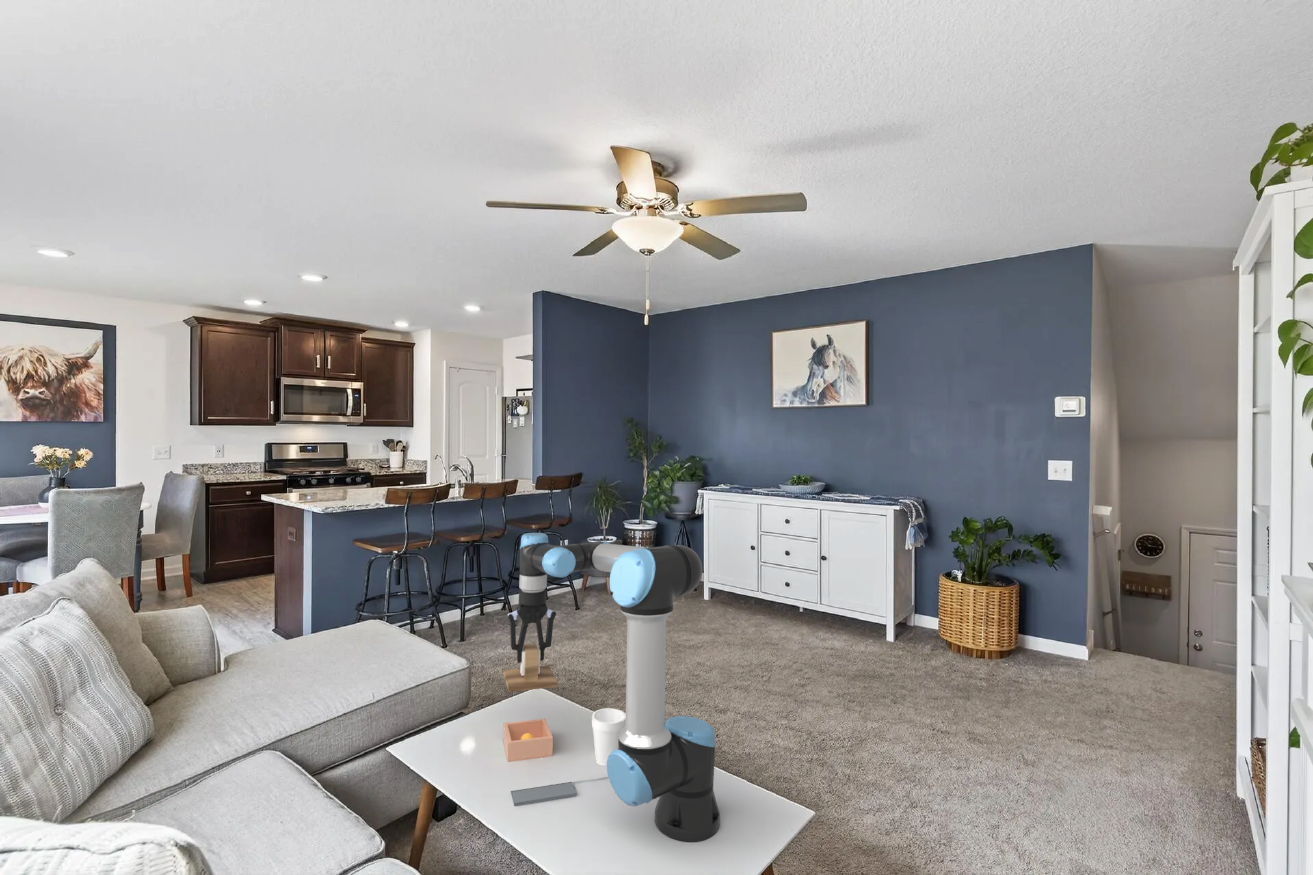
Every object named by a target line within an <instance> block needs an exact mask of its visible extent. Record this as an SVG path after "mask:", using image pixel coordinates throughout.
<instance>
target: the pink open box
mask: <svg viewBox="0 0 1313 875" xmlns="http://www.w3.org/2000/svg"><path fill="white" fill-rule="evenodd" d="M551 731H552V730H551V729H550V726H549V724H548V721H547V719H546V718H539V719H538V718H537V719H530V720H529V719H528V720H521V721H513V722H512V721H511V722H504V723H503V726H502V743H503V744H502V745H503V747H504V753H505V757H506V761H507V763H511V762H519V761H525V760H532V759H538V758H539V759H540V758H547V757H552V756H553V748H554V746H553V744H554V736H553V734H552V732H551ZM526 733H530V734H532V735H533V736H534V738H531V739H523V740H520V739H521V737H522V736H523V735H524V734H526Z"/></svg>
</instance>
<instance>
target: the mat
mask: <svg viewBox="0 0 1313 875" xmlns="http://www.w3.org/2000/svg"><path fill="white" fill-rule="evenodd" d="M510 792H511V798H512V802H513V807H519V806H526V805H530V804H531V805H532V804H538V803H544V802H550V801H555V800H563V799H568V798H575V797H577V792H576V789H575V786H574V783H573V781H569V782H567V781H566V782H563V783H555V784H549V785H542V786H535V787H529V788H523V789H516V790H510Z"/></svg>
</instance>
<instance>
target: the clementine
mask: <svg viewBox="0 0 1313 875" xmlns="http://www.w3.org/2000/svg"><path fill="white" fill-rule="evenodd" d="M531 738H534V736H533V735H532V734H530V733H526V734H524V735H523V736H522V737H521V739H520V740H523V739H531Z"/></svg>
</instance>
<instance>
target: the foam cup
mask: <svg viewBox="0 0 1313 875" xmlns="http://www.w3.org/2000/svg"><path fill="white" fill-rule="evenodd" d="M625 726H626V712H624V710H621V709H618V708H613V707H611V708H610V707H606V708H600V709H598V710H595V711H594V712H593V713H592V714H591V727H592V733H593V734H592V735H593V736H592V737H593V744H594V745H593V746H594V758H595V762H596V763H597V765H600V766H603V767H607V759H608V756H609V755H610V754H611V752H613V750H617V749H618V736H619V732H620V731H621V730H622V729H623V728H624V727H625Z"/></svg>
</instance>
